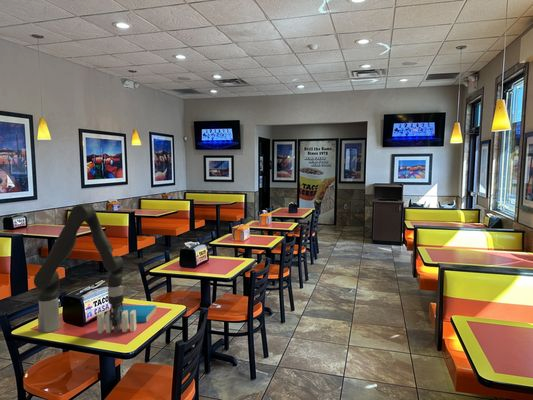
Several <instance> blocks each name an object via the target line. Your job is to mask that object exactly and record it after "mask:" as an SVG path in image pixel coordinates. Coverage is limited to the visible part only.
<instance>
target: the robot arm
mask: <svg viewBox="0 0 533 400" xmlns="http://www.w3.org/2000/svg"><path fill="white" fill-rule="evenodd" d="M84 222H85V223H86V224H87V226H88V227H89V230H90V233H91V237H92V241H93V245H94V246H95V248H96V250H97V251H98V253H99V256H100V258H101V259H100V260H101V262H102V264H103V267H104V269H106V271H108V272H109V273H110V274H109V275H108V277H107V300H108V301H107V302H108V304H109V305H111V308H110V309H109V311H110V320H112V326H113V327H114V326H117V315H118V313H119V311H120V320H121V319H122V316H121V312H122V310H123V305H124V304H123V302H124V287H123V278H122V277H123V273H124V272H123V271H124V266H125V265H124V259H123V258H122V257H121V256H120V255H114V256H113V252H114V247H113V245H112V243H111V242H110V240H109V238H108V237H107V235H106V233H105V232H104V230H103V229H104V228H103V227H102V225H101V222H100V219H99V217H98V215H97V212H96V210H95V208H94V206H93V205H92V204H90V203H81V204H76V205H75V206H73V207H72V208H71V210H70V212H69V214H68V217H67V219H66V222H65V224H64V226H63V227H62V230H61V231H60V232H59V235H58V237H57V238H56V240H55V241H54V243H53V245H52V247H51V249H50V252H49V253H48V255H47V257H46V258H45V260H44V262H43V264H42V265H41V266H40V268H39V269H38V271H37V273H36V274H35V275H34V277H33V284H34V286H35V288H37V289H39V290H41V291H40V292H39V294H38V299H37V301H38V311H39V312H38V314H37V320H38V321H37V322H38V323H37V324H38V332H40V333H44V334H45V333H52V332H55V331H58V330H59V329H60V327H61V322H60V320H61V319H60V309H59V308H60V305H59V292H60V275H59V272H58V271H57V269H58V268H59V267H60V266H61V265H62V263H64V261H66V259H67V258H68V257H69V256H70V254H71V253H72V251H73V249H74V248H75V246H76V242H77V235H78V234H77V233H78V232H79V229H80V228H81V226H82V225H83V224H84ZM113 316H114V317H113Z"/></svg>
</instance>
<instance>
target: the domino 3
mask: <svg viewBox="0 0 533 400" xmlns="http://www.w3.org/2000/svg"><path fill="white" fill-rule="evenodd" d="M113 317H114V316H113ZM120 330H122V322H121V321H120V311H119V313H118V315H117V326H113V331H114V332H113V333H115V334H116V333H120Z"/></svg>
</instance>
